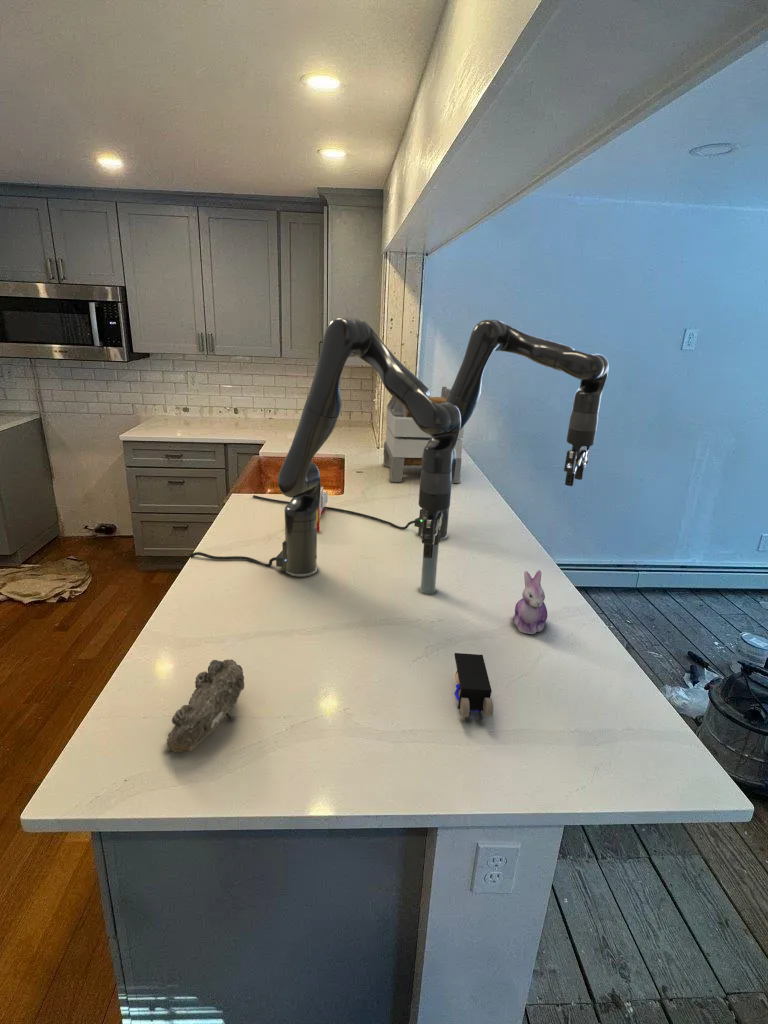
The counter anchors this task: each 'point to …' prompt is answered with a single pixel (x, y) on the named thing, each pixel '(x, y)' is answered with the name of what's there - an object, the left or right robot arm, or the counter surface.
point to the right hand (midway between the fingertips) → (573, 482)
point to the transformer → (410, 439)
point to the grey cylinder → (429, 572)
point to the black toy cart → (472, 685)
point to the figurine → (531, 606)
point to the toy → (321, 505)
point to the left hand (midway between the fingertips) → (430, 550)
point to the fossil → (206, 705)
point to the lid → (438, 538)
